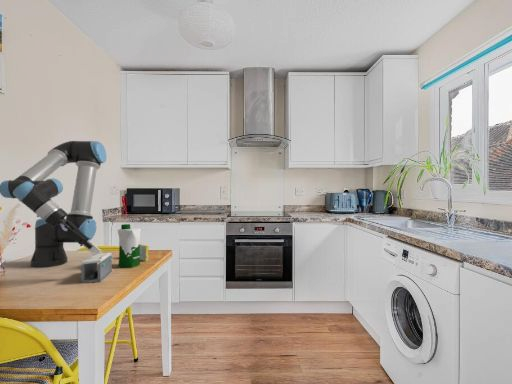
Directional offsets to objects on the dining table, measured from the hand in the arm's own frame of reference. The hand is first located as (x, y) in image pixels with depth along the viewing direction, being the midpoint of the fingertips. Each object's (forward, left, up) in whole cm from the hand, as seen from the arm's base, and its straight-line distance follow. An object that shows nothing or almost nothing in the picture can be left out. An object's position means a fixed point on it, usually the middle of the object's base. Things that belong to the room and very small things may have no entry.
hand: (97, 252), depth 128 cm
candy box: (-32, +10, -11) cm, 35 cm away
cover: (0, 0, -3) cm, 3 cm away
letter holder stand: (0, 0, -10) cm, 10 cm away
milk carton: (-18, +9, -11) cm, 23 cm away
